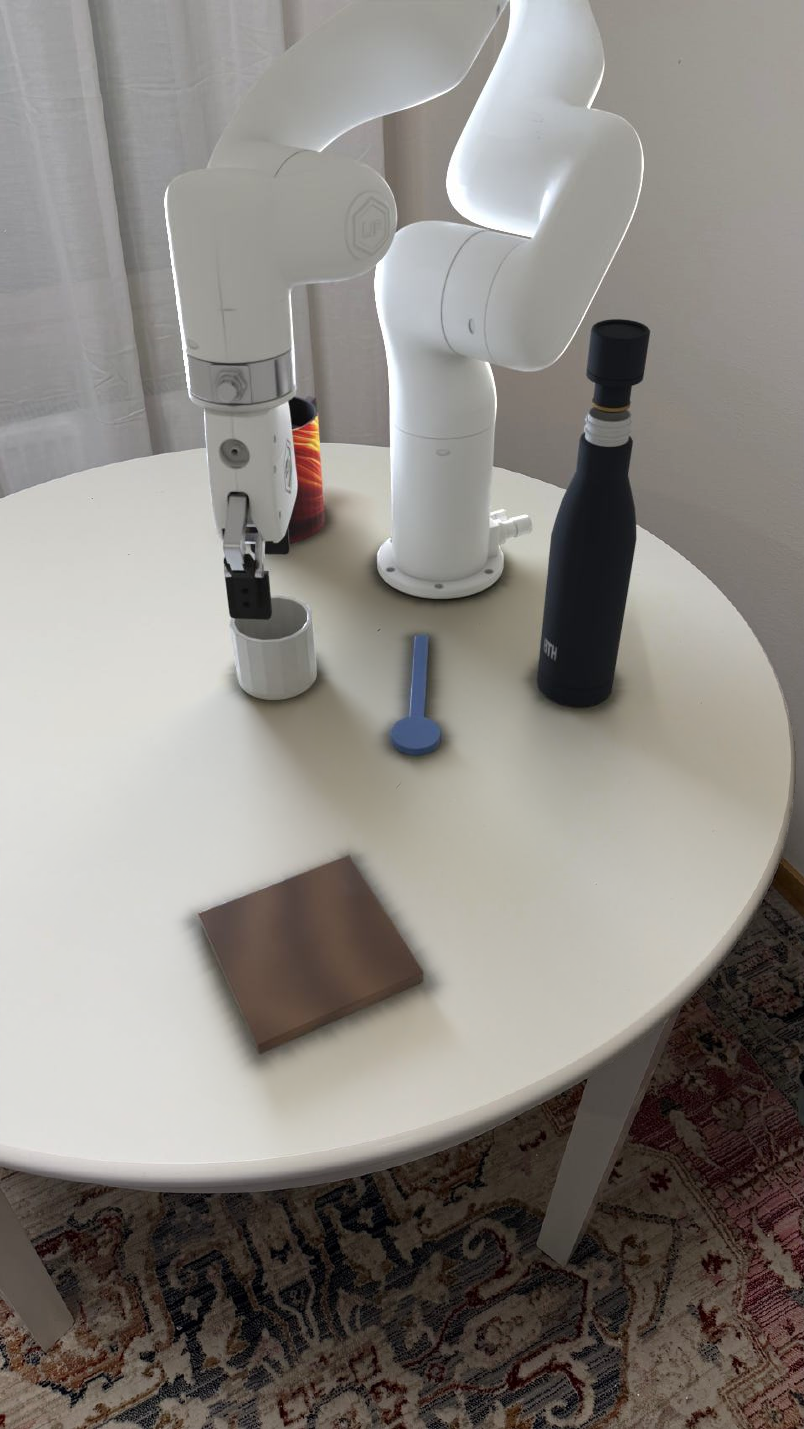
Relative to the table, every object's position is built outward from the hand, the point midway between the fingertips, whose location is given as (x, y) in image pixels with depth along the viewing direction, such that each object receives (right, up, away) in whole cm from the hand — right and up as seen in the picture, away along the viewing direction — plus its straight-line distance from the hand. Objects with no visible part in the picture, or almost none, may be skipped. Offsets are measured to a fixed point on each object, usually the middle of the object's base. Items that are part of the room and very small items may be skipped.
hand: (261, 583), depth 81 cm
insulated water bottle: (+26, -8, +5) cm, 28 cm away
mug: (-2, +11, +29) cm, 31 cm away
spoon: (+13, -9, +4) cm, 16 cm away
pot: (+1, -7, +7) cm, 10 cm away
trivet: (+5, -26, -16) cm, 31 cm away
